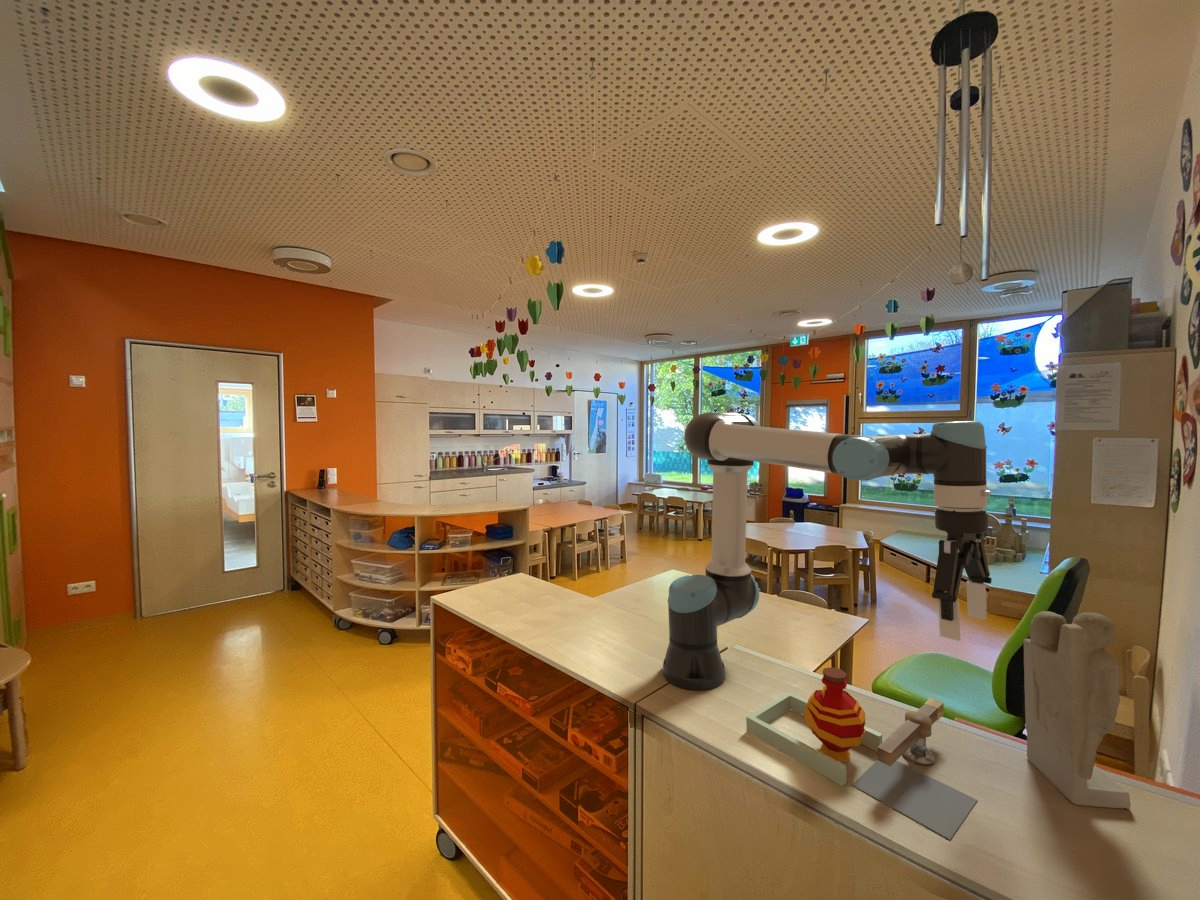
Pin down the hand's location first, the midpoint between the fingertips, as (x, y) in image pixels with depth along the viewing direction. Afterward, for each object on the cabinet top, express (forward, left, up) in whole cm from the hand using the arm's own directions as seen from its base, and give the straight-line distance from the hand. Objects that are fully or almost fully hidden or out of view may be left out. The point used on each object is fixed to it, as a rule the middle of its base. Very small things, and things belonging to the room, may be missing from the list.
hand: (964, 627), depth 86 cm
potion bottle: (-15, -16, -24) cm, 33 cm away
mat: (-2, -16, -24) cm, 29 cm away
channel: (-19, -16, -24) cm, 35 cm away
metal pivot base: (-5, -5, -24) cm, 25 cm away
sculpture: (+14, +7, -24) cm, 29 cm away
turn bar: (-5, -8, -19) cm, 22 cm away
